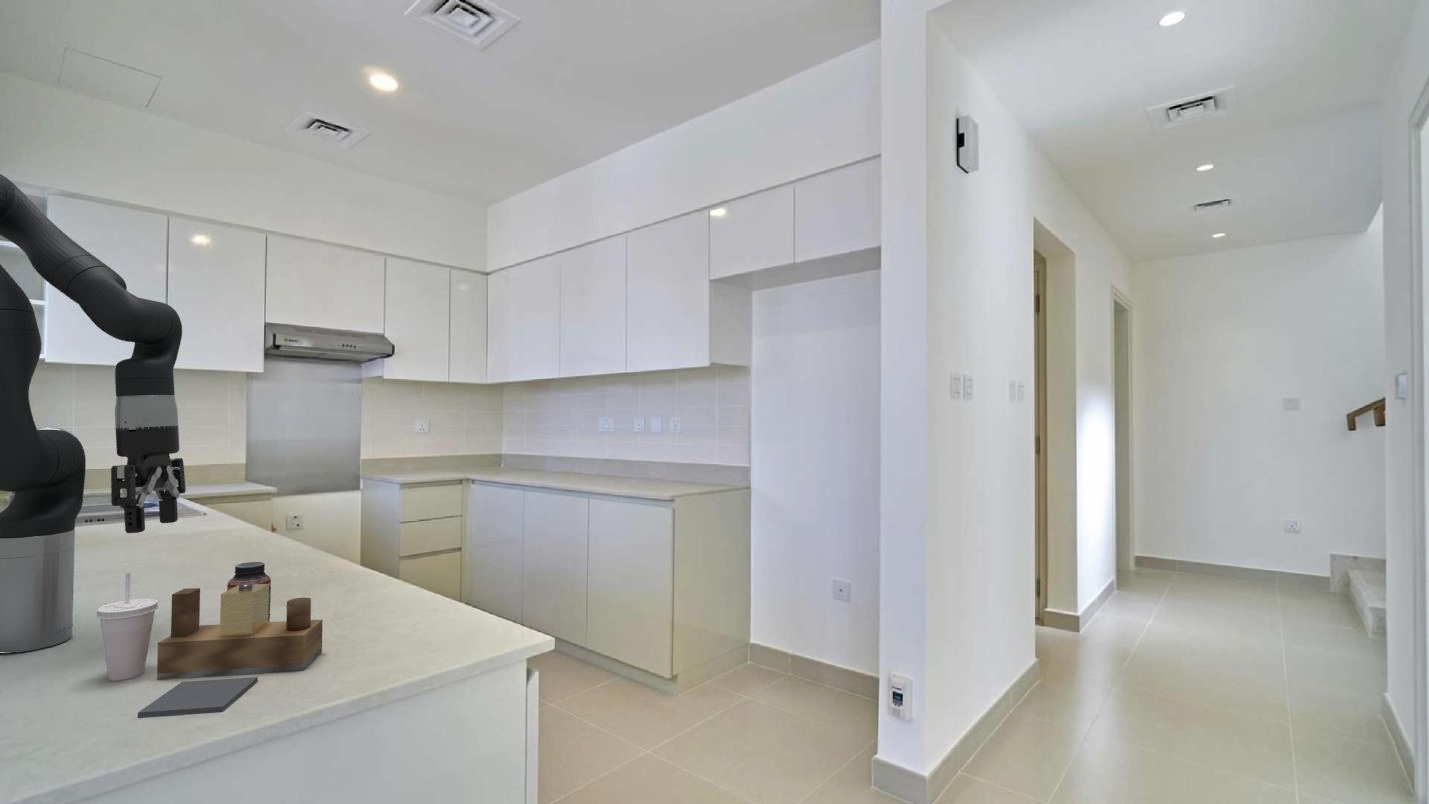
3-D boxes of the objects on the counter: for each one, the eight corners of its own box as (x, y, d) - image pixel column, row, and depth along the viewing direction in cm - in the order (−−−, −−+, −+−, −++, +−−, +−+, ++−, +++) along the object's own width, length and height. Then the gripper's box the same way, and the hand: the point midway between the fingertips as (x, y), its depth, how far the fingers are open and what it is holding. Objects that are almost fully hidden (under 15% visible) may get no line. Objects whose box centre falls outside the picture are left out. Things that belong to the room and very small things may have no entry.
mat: (137, 717, 79) (137, 712, 79) (181, 686, 87) (181, 681, 87) (222, 711, 80) (222, 706, 80) (257, 681, 89) (257, 677, 89)
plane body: (156, 679, 89) (158, 598, 89) (186, 660, 96) (188, 585, 96) (303, 670, 93) (304, 592, 93) (321, 652, 100) (323, 580, 100)
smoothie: (151, 662, 95) (153, 565, 95) (161, 674, 91) (164, 573, 91) (90, 675, 90) (93, 574, 90) (99, 688, 86) (101, 582, 86)
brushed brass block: (219, 637, 92) (220, 590, 92) (237, 625, 97) (238, 580, 97) (252, 635, 93) (252, 588, 93) (268, 624, 98) (269, 579, 98)
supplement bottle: (246, 640, 105) (248, 569, 105) (215, 637, 106) (217, 567, 106) (278, 628, 110) (280, 561, 111) (249, 625, 112) (250, 559, 112)
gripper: (148, 425, 110) (153, 521, 110) (86, 427, 96) (92, 538, 96) (199, 422, 111) (204, 518, 111) (146, 424, 97) (152, 533, 97)
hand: (152, 527), depth 103 cm, fingers open, 8 cm apart
